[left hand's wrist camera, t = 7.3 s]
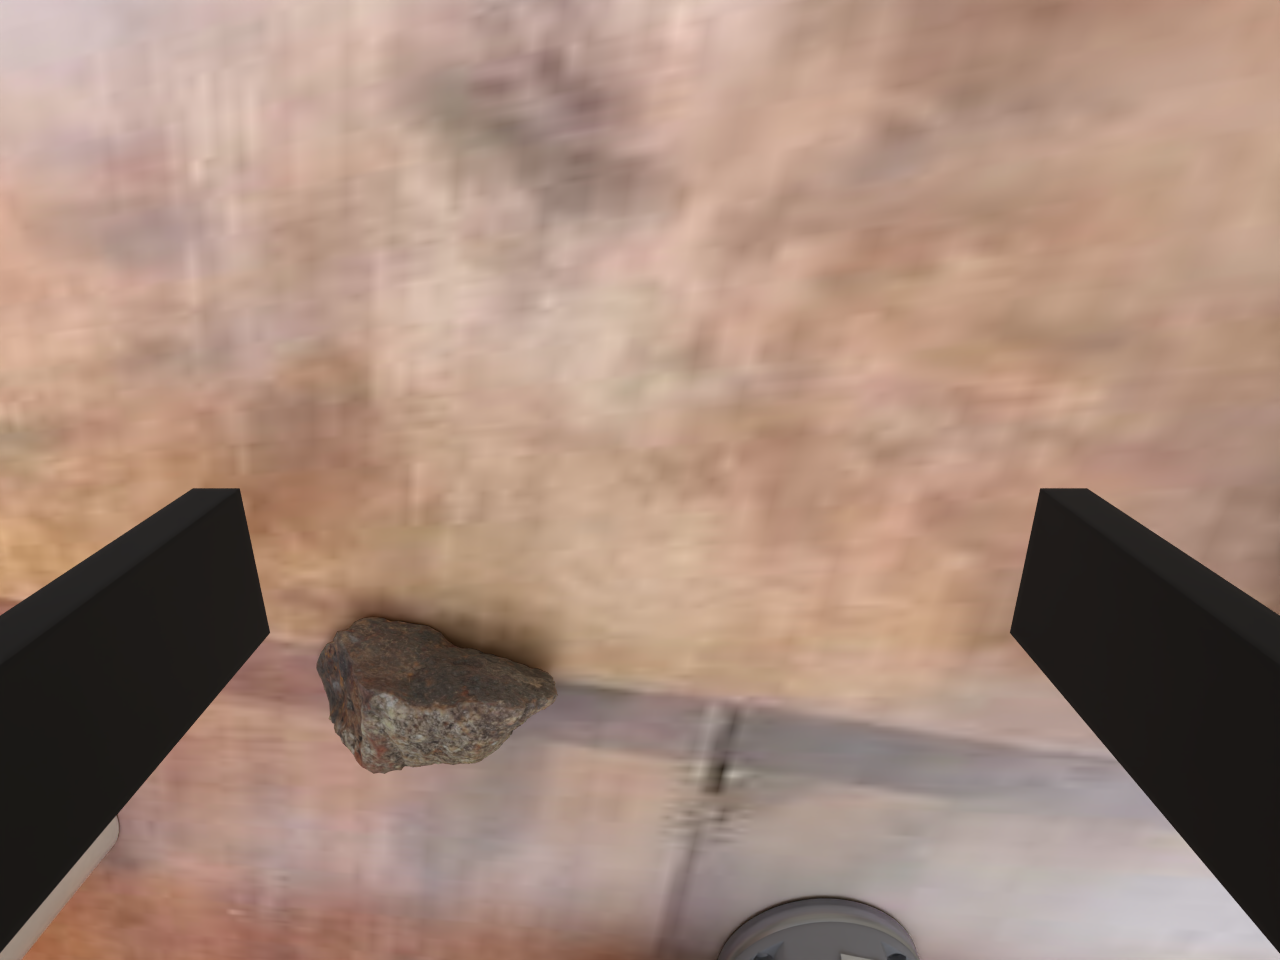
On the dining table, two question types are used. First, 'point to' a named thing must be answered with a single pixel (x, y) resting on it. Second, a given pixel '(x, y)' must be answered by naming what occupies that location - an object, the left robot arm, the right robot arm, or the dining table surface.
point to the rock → (423, 696)
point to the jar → (61, 894)
